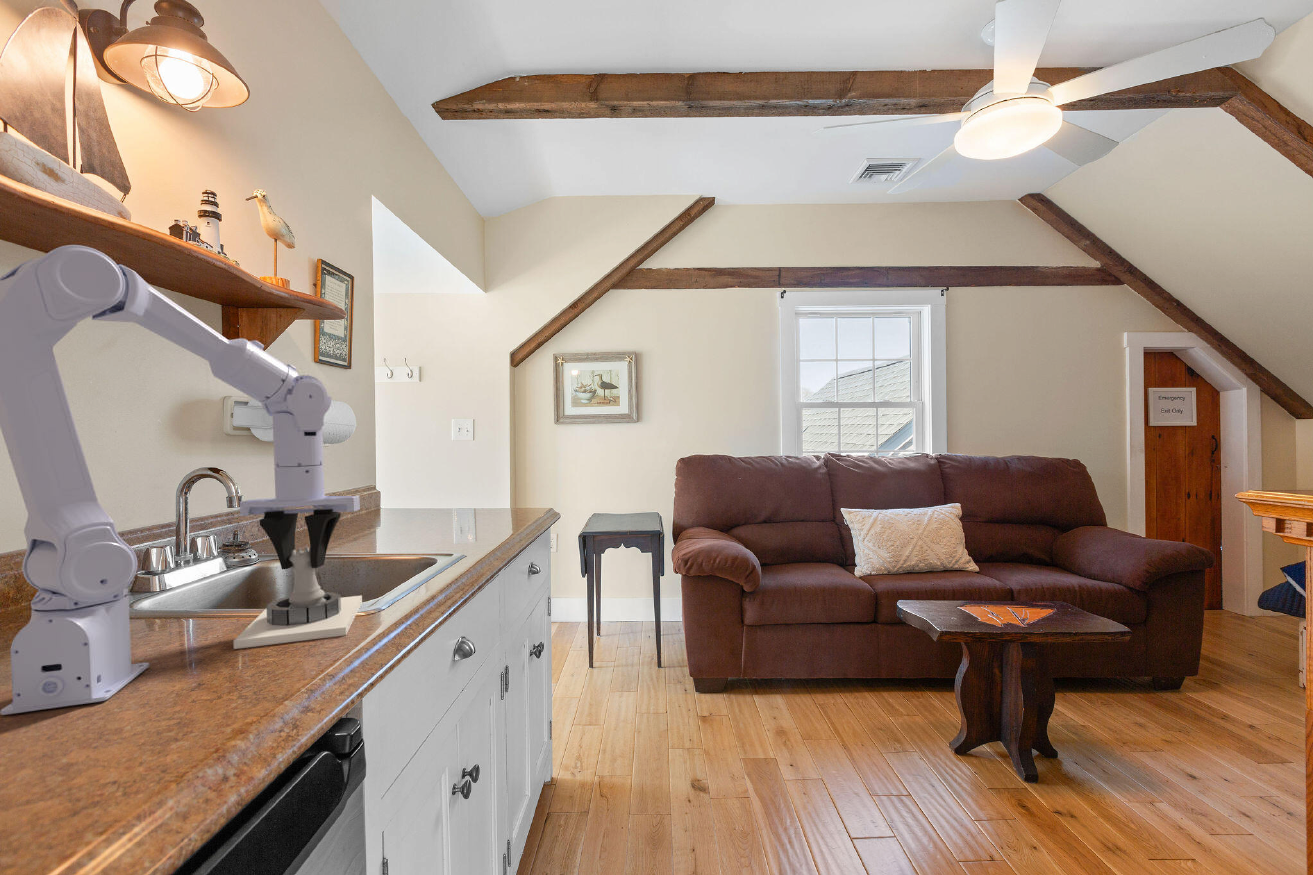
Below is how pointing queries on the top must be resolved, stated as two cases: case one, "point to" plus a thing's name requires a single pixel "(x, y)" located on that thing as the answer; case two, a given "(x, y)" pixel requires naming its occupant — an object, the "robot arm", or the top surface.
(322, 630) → the mount plate
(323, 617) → the segmented grey ring
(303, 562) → the rook chess piece
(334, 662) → the top surface
